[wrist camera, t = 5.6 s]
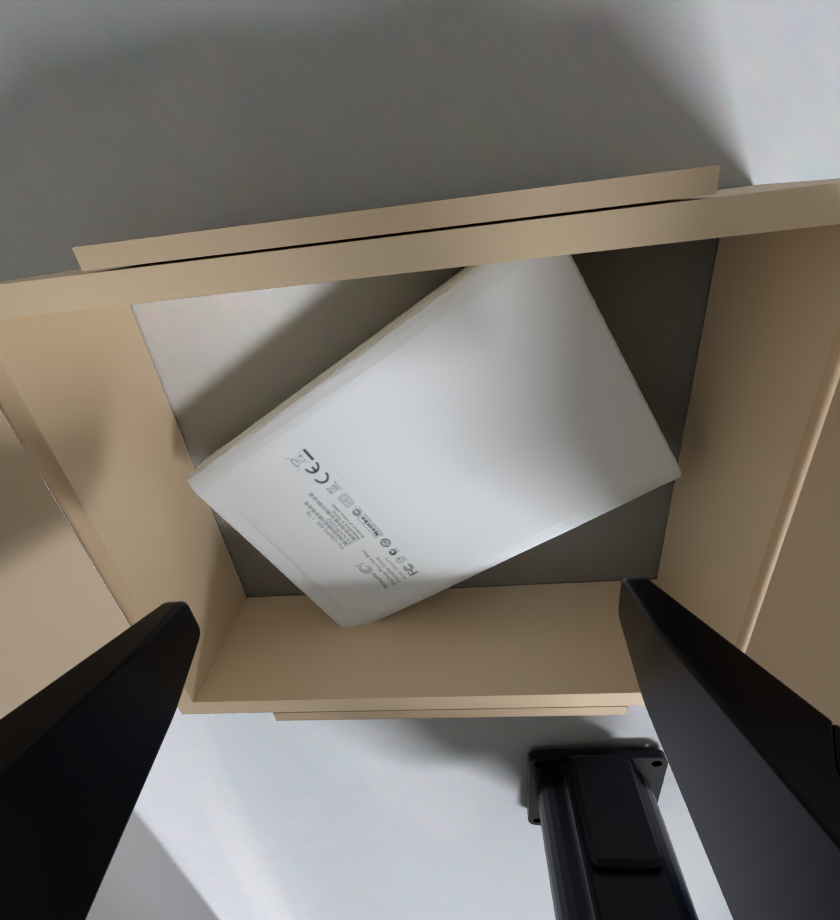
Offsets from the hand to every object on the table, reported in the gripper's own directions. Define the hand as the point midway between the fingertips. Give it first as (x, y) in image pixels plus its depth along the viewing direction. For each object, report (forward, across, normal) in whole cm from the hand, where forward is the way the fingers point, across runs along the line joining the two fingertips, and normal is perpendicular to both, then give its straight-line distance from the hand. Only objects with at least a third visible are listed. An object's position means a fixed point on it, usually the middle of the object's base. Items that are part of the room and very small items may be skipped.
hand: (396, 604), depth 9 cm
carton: (+6, 0, 0) cm, 6 cm away
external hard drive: (+6, 0, 0) cm, 6 cm away
